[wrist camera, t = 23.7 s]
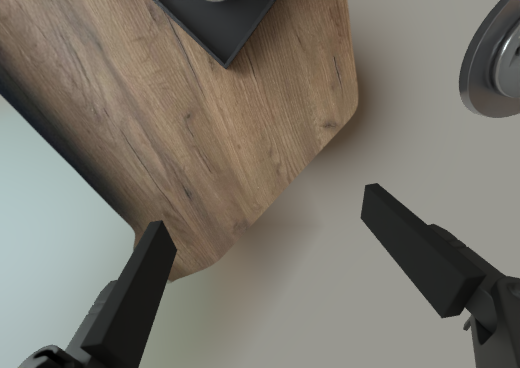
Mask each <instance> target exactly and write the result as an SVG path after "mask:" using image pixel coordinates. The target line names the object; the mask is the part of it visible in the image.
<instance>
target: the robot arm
mask: <svg viewBox="0 0 520 368" xmlns="http://www.w3.org/2000/svg"><path fill="white" fill-rule="evenodd" d="M491 83H492V86H493V88H494V90H495V91H496V92H497V93H498V94H500V95H502V96H505V97H512V98H520V19H519V20H518V21H517V22H516V23H515V25H514V26H513V27H512V28H511V30H510V31H509V32H508V34H507V35H506V36H505V38H504V40H503V41H502V43H501V45H500V46H499V48H498V51H497V53H496V55H495V58H494V61H493V64H492V69H491ZM361 219H362V220H363V222H364V223H365V224H366V225H367V227H368V228H369V229H370V230H371V232H372V233H373V234H374V235H375V236H376V238H377V239H378V240H379V241H380V242H381V244H382V245H383V246H384V247H385V248H386V250H387V251H388V252H389V254H390V255H391V256H392V257H393V259H394V260H395V261H396V262H397V263H398V265H399V266H400V267H401V268H402V270H403V271H404V272H405V273H406V275H407V276H408V277H409V278H410V279H411V281H412V282H413V283H414V284H415V286H416V287H417V288H418V289H419V291H420V292H421V293H422V294H423V296H424V297H425V298H426V299H427V300H428V302H429V303H430V304H431V305H432V306H433V308H434V309H435V310H436V312H437V313H438V314H439V315H440V316H441V318H446V317H452V316H457V315H460V314H461V312H462V311H463V309H464V308H466V309H467V310H468V311H469V312H470V313H471V314H472V315H471V316H470V318H469V319H468V320H467V322H466V323H465V324H464V328H463V329H464V330H466V331H467V330H468V329H469V327H470V326H471V331H472V339H473V346H474V353H475V362H476V368H520V279H519V278H515V277H510V276H505V275H504V274H502V273H501V272H499V271H498V270H497V269H496V268H494V267H493V266H492V265H491V264H489V263H488V262H487V261H485V260H484V259H483V258H481V257H480V256H479V255H478V254H477V253H475V252H474V251H473V250H471V249H470V248H469V247H466V245H465V244H464V243H462V242H461V241H460V240H457V238H456V237H455V236H453V235H452V234H451V233H450V232H448V231H447V230H445V229H443V228H441V227H439V226H437V225H435V224H431V225H427V224H426V223H424V222H423V221H422V220H421V219H420V218H418V217H417V216H416V215H415V214H414V213H412V212H411V211H410V210H409V209H408V208H406V207H405V206H404V205H403V204H402V203H400V202H399V201H398V200H397V199H395V198H394V197H393V196H392V195H391V194H390V193H388V192H387V191H386V190H385V189H384V188H382V187H381V186H380V185H379V184H378V183H375V184H370V185H365V192H364V199H363V205H362V212H361ZM176 252H177V249H176V247H175V245H174V243H173V241H172V239H171V237H170V235H169V233H168V231H167V229H166V227H165V225H164V223H163V221H162V220H161V221H155V222H150V223H149V225H148V227H147V229H146V230H145V232H144V234H143V236H142V238H141V239H140V241H139V243H138V245H137V246H136V248H135V250H134V252H133V253H132V256H131V257H130V259H129V261H128V262H127V264H126V266H125V268H124V269H123V271H122V273H121V275H120V277H119V278H118V280H115V281H111V282H110V283H109V284H108V285H107V286H106V287H105V288H104V289H103V290H102V291H101V292H100V294H99V296H98V298H97V299H96V301H95V302H94V305H92V307H91V309H90V310H89V314H88V315H86V317H85V319H84V320H83V322H82V324H81V325H80V327H79V328H78V330H77V332H76V334H75V335H74V337H73V338H72V340H71V342H70V343H69V345H68V347H67V348H66V350H65V351H63V350H62V349H61V348H59V347H57V346H55V345H49V346H46V347H43V348H41V349H39V350H38V351H36V352H34V353H33V354H32V355H31V356H29V357H28V358H27V359H26V360H25V361H24V362H23V363H22V364H21V365H20V366H19V367H18V368H138V367H139V364H140V361H141V358H142V355H143V352H144V349H145V346H146V343H147V340H148V337H149V334H150V331H151V327H152V325H153V322H154V319H155V316H156V313H157V310H158V307H159V303H160V300H161V298H162V295H163V292H164V289H165V285H166V283H167V280H168V277H169V273H170V270H171V267H172V264H173V261H174V258H175V255H176Z"/></svg>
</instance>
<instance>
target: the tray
mask: <svg viewBox="0 0 520 368" xmlns="http://www.w3.org/2000/svg"><path fill="white" fill-rule="evenodd" d="M153 1H154V2H155V3H156V4H157V5H158V6H159V7H160V8H161V9H162V10H163V11H164V12H166V13H167V14H168V15H169V16H170V17H171V18H172V19H173V20H174V21H175V22H176V23H177V24H178V25H179V26H180V27H181V28H182V29H183V30H185V31H186V32H187V33H188V34H189V35H190V36H191V37H192V38H193V39H194V40H195V41H196V42H197V43H198V44H199V45H200V46H201V47H202V48H204V49H205V50H206V51H207V52H208V53H209V54H210V55H211V56H212V57H213V58H214V59H215V60H216V61H217V62H218V63H219V64H220V65H221V66H223V67H224V68H225V69H227V68H228V67H229V65H230V64H231V63H232V61H233V60H234V58H235V57H236V56H237V54H238V53H239V51H240V50H241V49H242V47H243V46H244V44H245V43H246V42H247V40H248V39H249V37H250V36H251V35H252V33H253V32H254V30H255V29H256V28H257V26H258V25H259V23H260V22H261V21H262V19H263V18H264V16H265V15H266V14H267V12H268V11H269V10H270V8H271V7H272V5H273V4H274V3H275V1H276V0H224V1H220V2H212V1H207V0H153Z"/></svg>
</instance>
